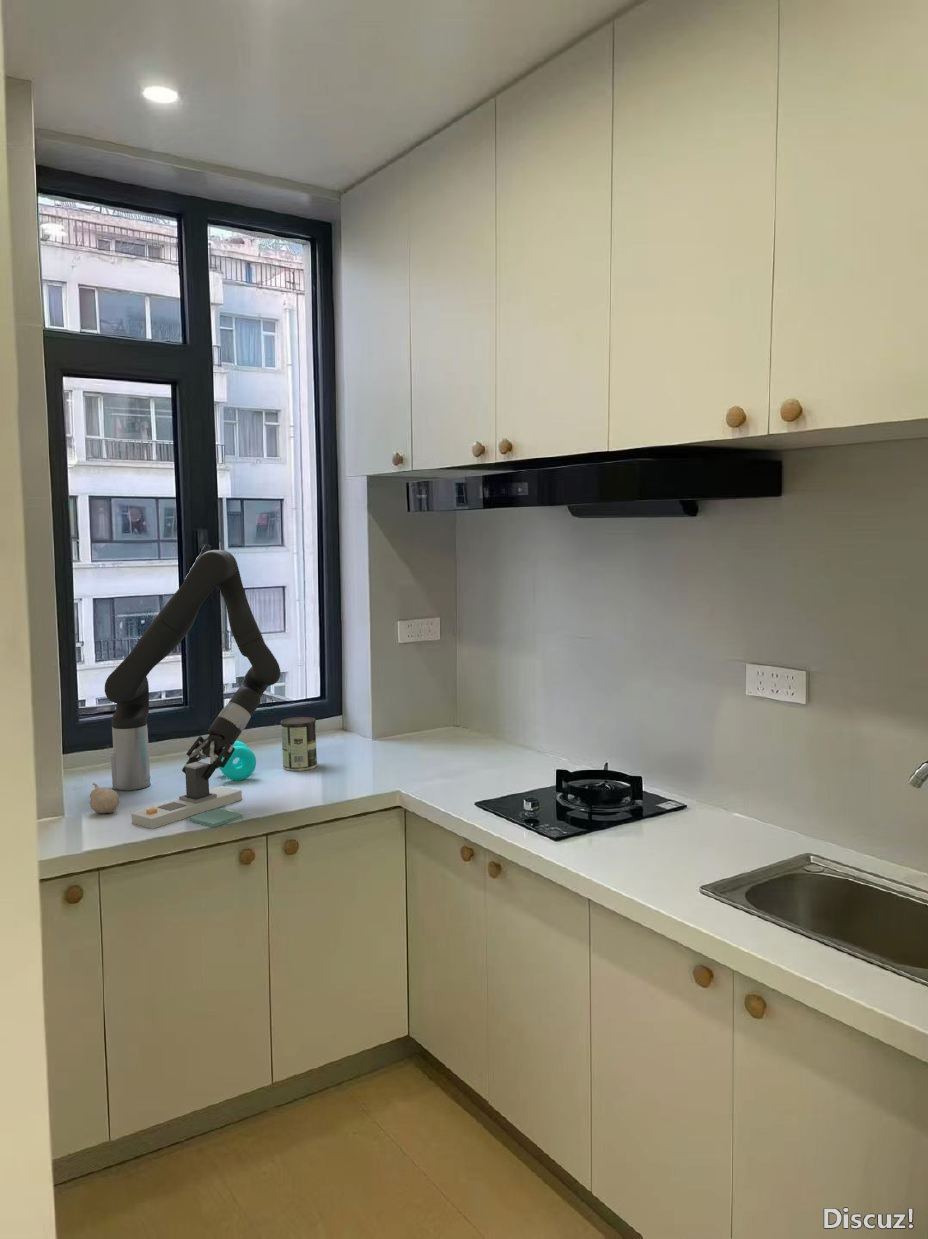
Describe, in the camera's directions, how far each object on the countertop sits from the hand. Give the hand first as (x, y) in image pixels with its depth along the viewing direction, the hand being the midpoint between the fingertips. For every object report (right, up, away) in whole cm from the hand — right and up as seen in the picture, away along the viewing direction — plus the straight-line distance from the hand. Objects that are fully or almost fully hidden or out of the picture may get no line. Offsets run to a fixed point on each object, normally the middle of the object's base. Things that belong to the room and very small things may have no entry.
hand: (194, 775), depth 240 cm
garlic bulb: (-22, -9, -1) cm, 24 cm away
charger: (+1, -6, +1) cm, 6 cm away
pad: (+8, -9, -8) cm, 15 cm away
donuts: (+4, -6, +30) cm, 31 cm away
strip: (-1, -9, -1) cm, 9 cm away
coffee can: (+20, -4, +40) cm, 45 cm away
